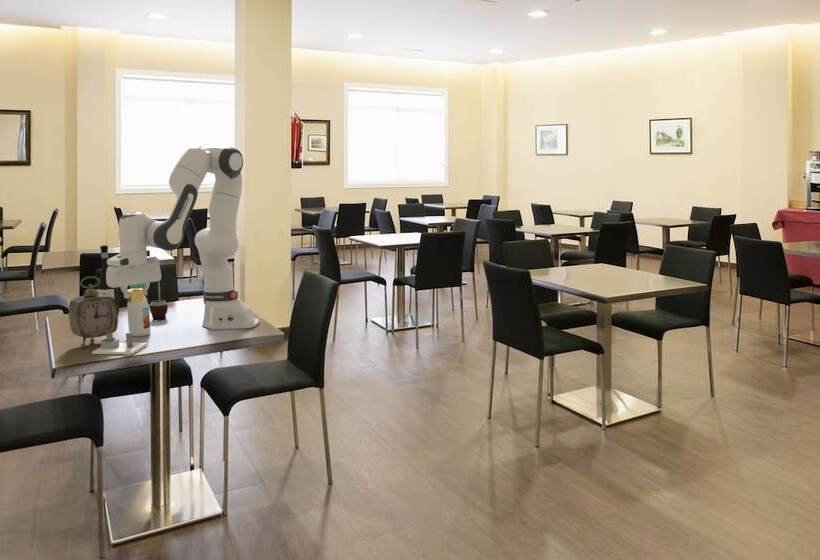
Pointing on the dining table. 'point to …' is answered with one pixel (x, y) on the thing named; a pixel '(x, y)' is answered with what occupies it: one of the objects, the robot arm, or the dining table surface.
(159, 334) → the dining table surface
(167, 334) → the dining table surface
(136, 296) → the brass gear
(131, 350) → the gear board
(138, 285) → the milk bottle
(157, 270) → the robot arm
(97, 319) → the tabletop clock
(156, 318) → the mate gourd
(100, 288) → the wine bottle
